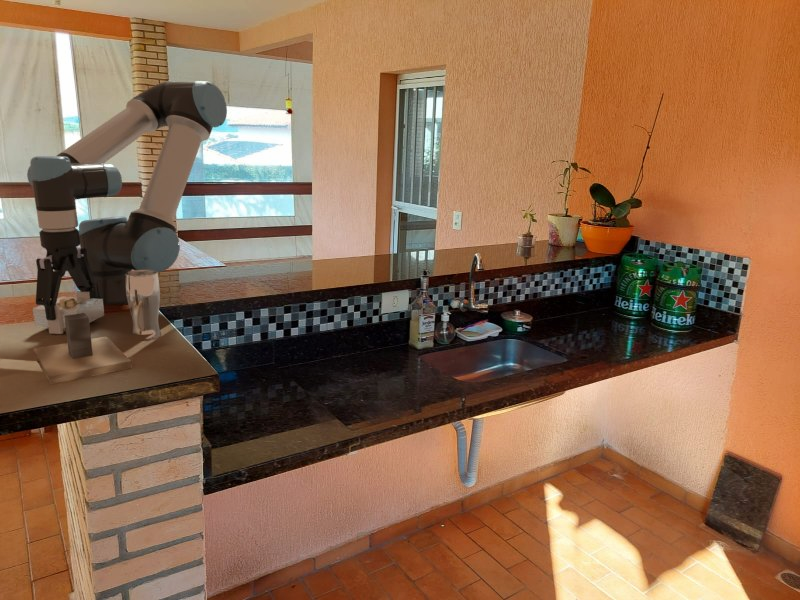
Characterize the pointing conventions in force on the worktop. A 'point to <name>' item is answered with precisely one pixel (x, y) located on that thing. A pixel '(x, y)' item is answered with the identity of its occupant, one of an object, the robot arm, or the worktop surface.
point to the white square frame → (72, 310)
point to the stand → (67, 304)
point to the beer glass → (144, 302)
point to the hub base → (81, 365)
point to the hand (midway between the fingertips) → (71, 325)
